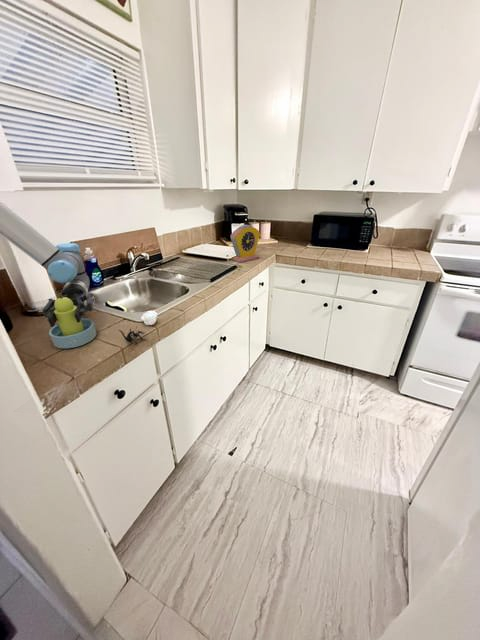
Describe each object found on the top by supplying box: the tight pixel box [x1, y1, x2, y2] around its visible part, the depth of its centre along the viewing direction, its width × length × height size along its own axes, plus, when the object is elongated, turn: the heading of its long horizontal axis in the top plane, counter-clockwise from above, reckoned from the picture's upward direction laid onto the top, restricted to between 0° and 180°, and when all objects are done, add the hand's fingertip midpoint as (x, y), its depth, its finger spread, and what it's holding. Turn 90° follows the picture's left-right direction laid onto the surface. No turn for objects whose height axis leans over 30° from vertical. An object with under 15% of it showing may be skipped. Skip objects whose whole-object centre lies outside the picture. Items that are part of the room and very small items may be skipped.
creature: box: [118, 326, 146, 344], centre depth 83 cm, size 8×5×8 cm
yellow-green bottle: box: [54, 292, 84, 336], centre depth 80 cm, size 6×6×13 cm
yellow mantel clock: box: [229, 224, 261, 264], centre depth 167 cm, size 22×9×22 cm, turn 131°
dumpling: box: [140, 310, 158, 326], centre depth 94 cm, size 7×5×4 cm
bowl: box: [48, 317, 97, 349], centre depth 84 cm, size 12×12×4 cm
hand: (64, 320), depth 76 cm, fingers closed on yellow-green bottle, 6 cm apart
